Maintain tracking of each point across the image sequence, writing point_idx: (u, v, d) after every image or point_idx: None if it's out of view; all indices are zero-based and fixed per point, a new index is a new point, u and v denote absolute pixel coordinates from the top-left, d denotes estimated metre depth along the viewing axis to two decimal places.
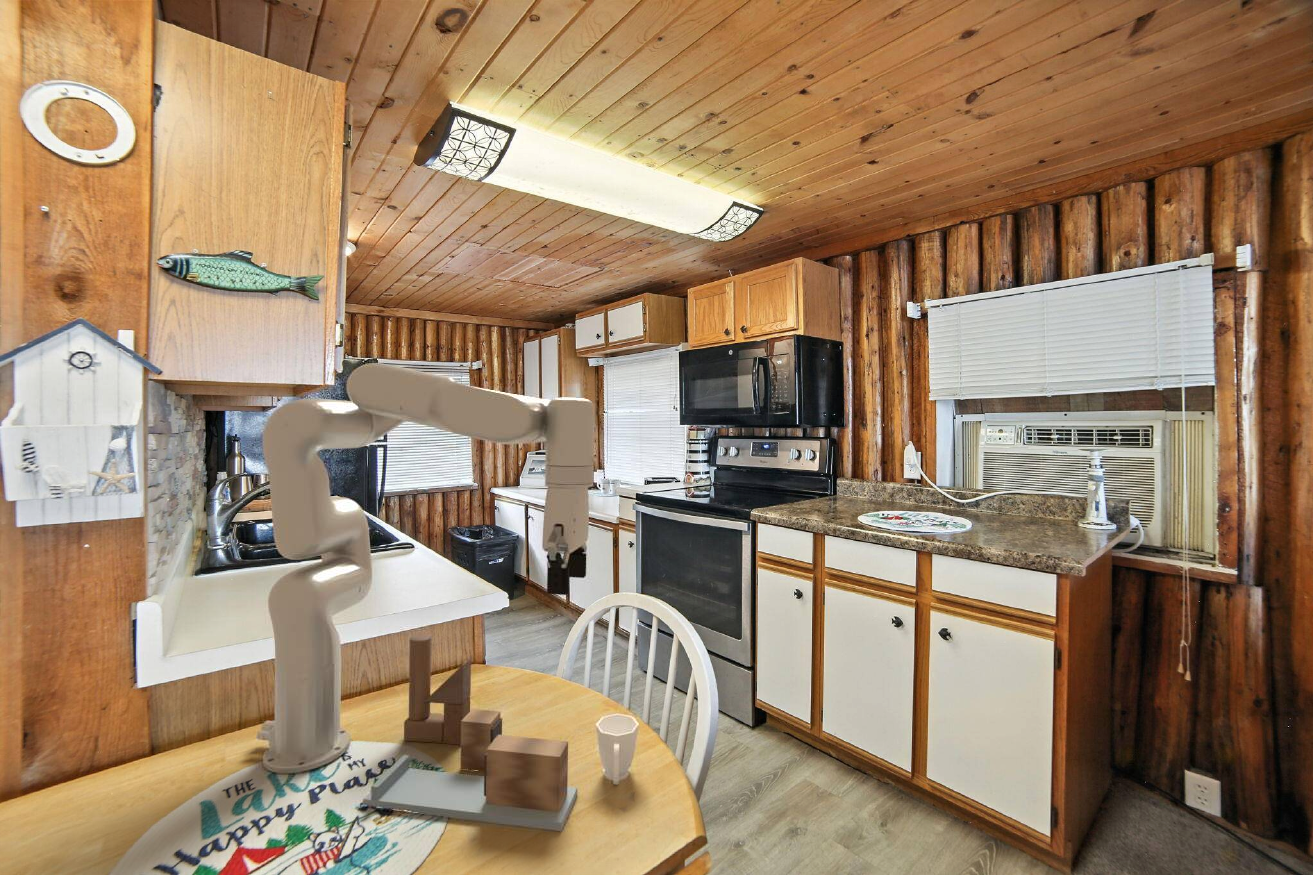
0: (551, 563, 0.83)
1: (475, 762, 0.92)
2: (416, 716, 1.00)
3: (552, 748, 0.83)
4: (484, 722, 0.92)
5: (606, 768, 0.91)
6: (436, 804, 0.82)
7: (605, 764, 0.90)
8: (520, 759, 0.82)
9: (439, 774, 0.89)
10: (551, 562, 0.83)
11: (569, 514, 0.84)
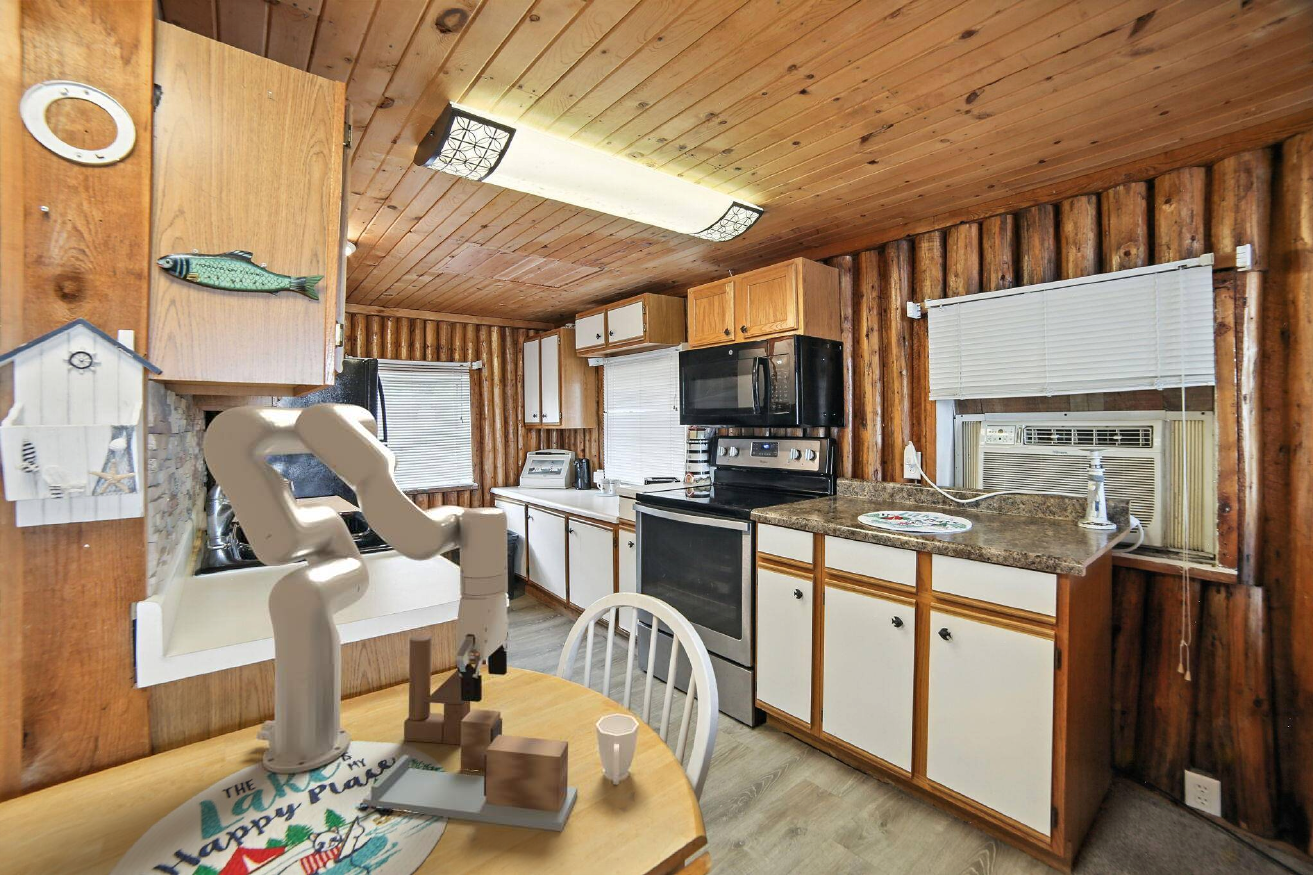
0: (462, 674, 0.87)
1: (475, 762, 0.92)
2: (416, 716, 1.00)
3: (552, 748, 0.83)
4: (484, 722, 0.92)
5: (606, 768, 0.91)
6: (436, 804, 0.82)
7: (605, 764, 0.90)
8: (520, 759, 0.82)
9: (439, 774, 0.89)
10: (462, 673, 0.87)
11: (480, 625, 0.89)
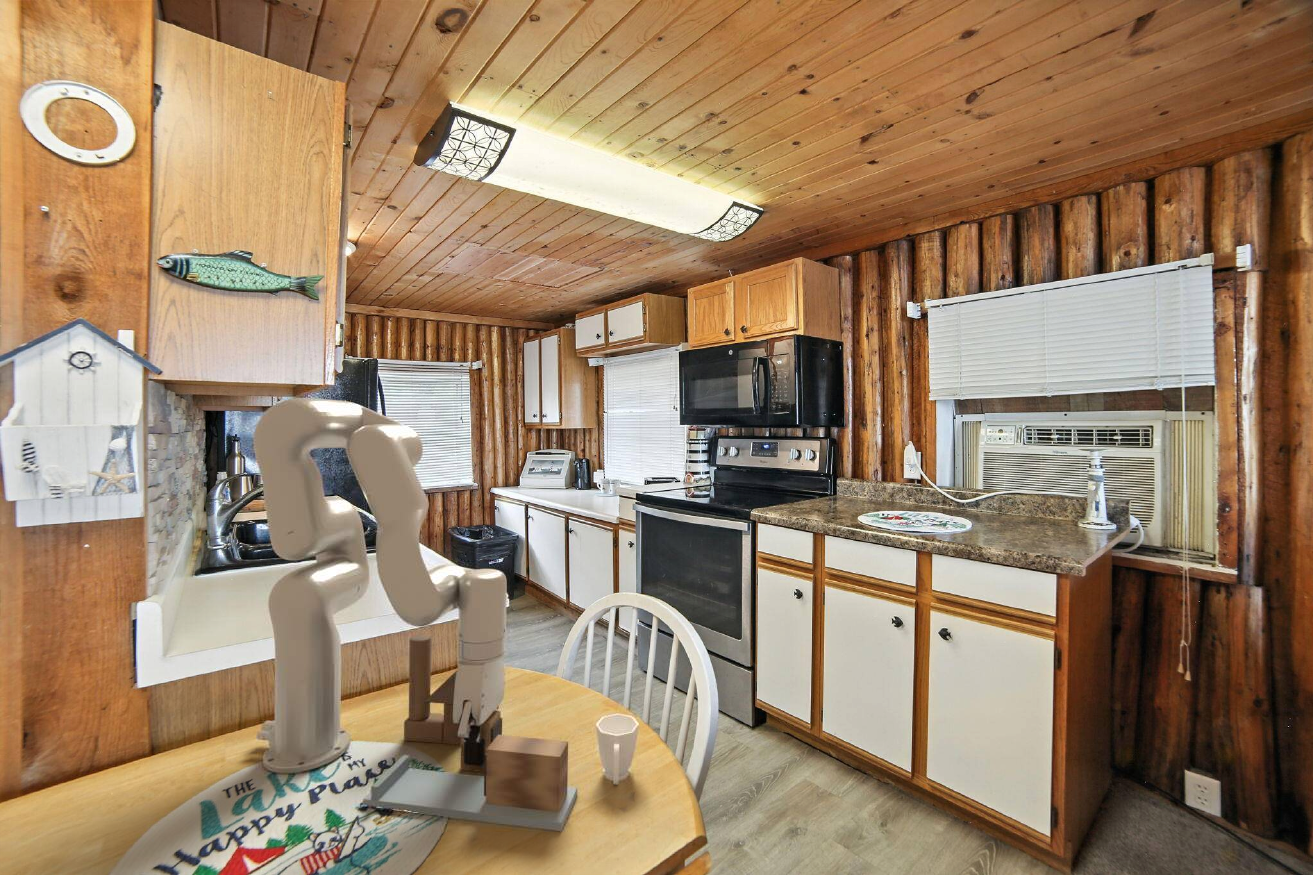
0: (466, 739, 0.90)
1: None
2: (416, 716, 1.00)
3: (552, 748, 0.83)
4: (484, 722, 0.92)
5: (606, 768, 0.91)
6: (436, 804, 0.82)
7: (605, 764, 0.90)
8: (520, 759, 0.82)
9: (439, 774, 0.89)
10: (466, 739, 0.90)
11: (477, 691, 0.89)
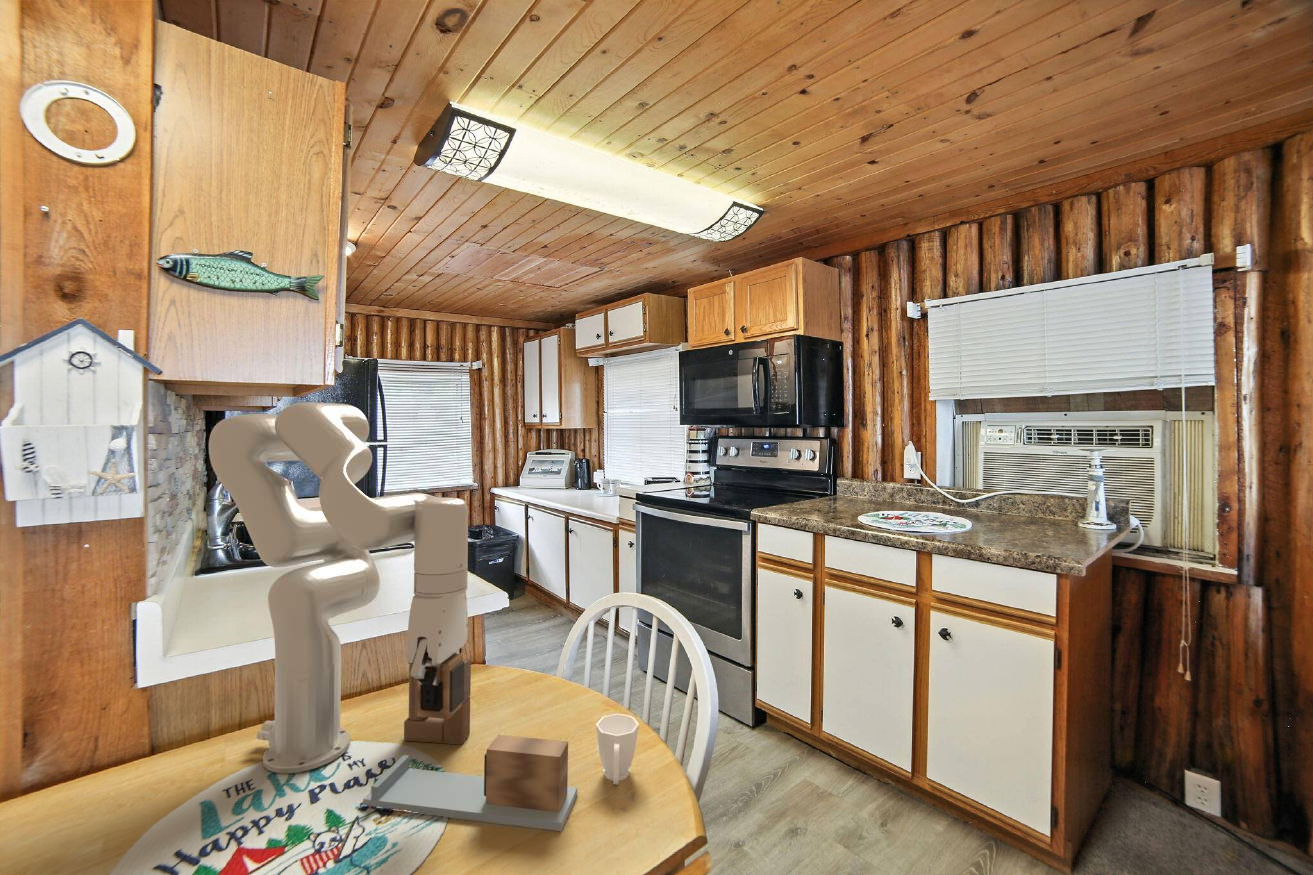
0: (421, 681, 0.81)
1: None
2: (416, 716, 1.00)
3: (552, 748, 0.83)
4: (443, 663, 0.83)
5: (606, 768, 0.91)
6: (436, 804, 0.82)
7: (605, 764, 0.90)
8: (520, 759, 0.82)
9: (439, 774, 0.89)
10: (421, 680, 0.81)
11: (433, 626, 0.80)
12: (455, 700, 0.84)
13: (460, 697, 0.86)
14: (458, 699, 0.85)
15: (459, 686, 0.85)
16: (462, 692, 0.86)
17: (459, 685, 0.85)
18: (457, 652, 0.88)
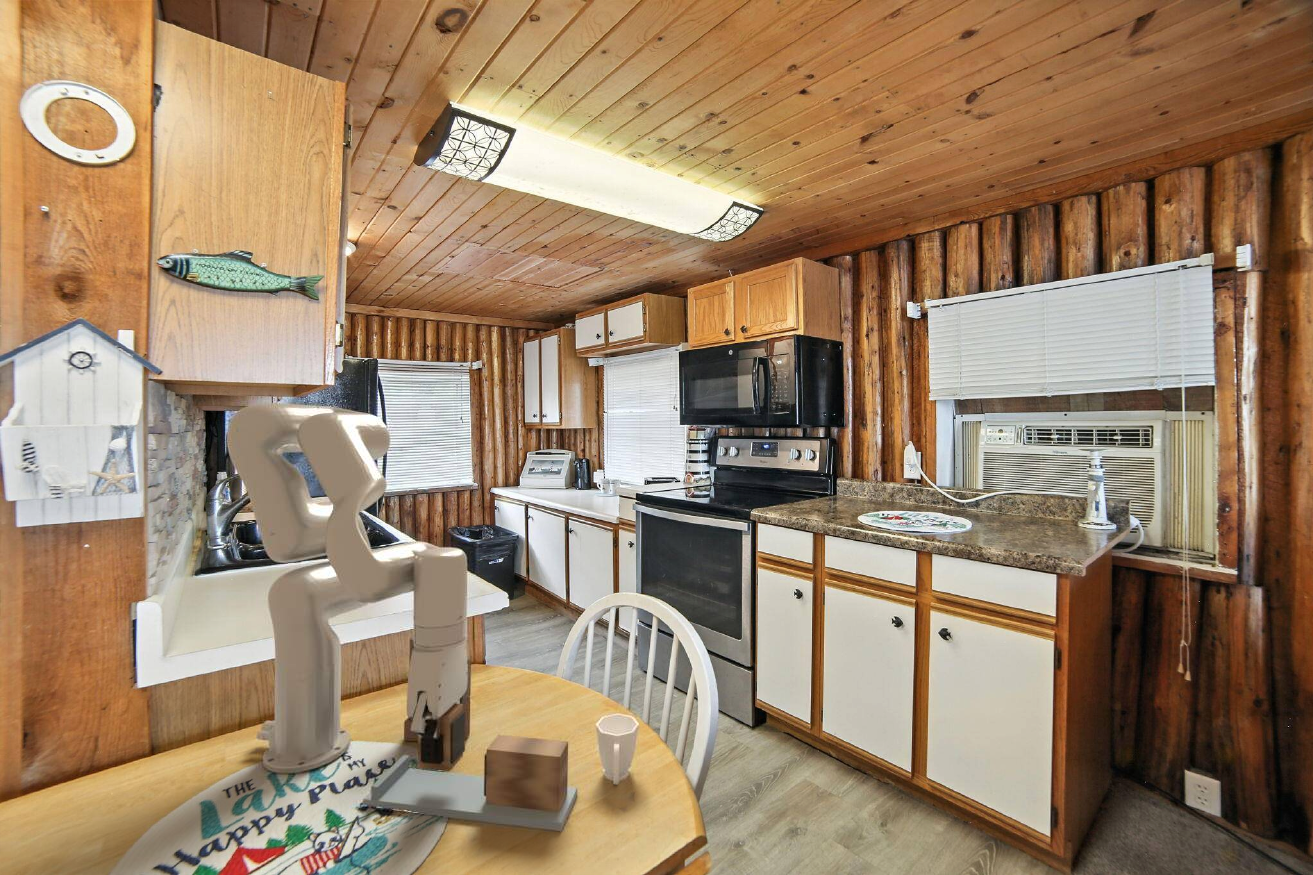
0: (422, 735, 0.81)
1: None
2: None
3: (552, 748, 0.83)
4: (443, 715, 0.83)
5: (606, 768, 0.91)
6: (436, 804, 0.82)
7: (605, 764, 0.90)
8: (520, 759, 0.82)
9: (439, 774, 0.89)
10: (422, 734, 0.81)
11: (433, 680, 0.80)
12: (456, 751, 0.84)
13: (461, 748, 0.86)
14: (459, 750, 0.85)
15: (460, 737, 0.85)
16: (463, 742, 0.86)
17: (460, 736, 0.85)
18: (457, 701, 0.88)
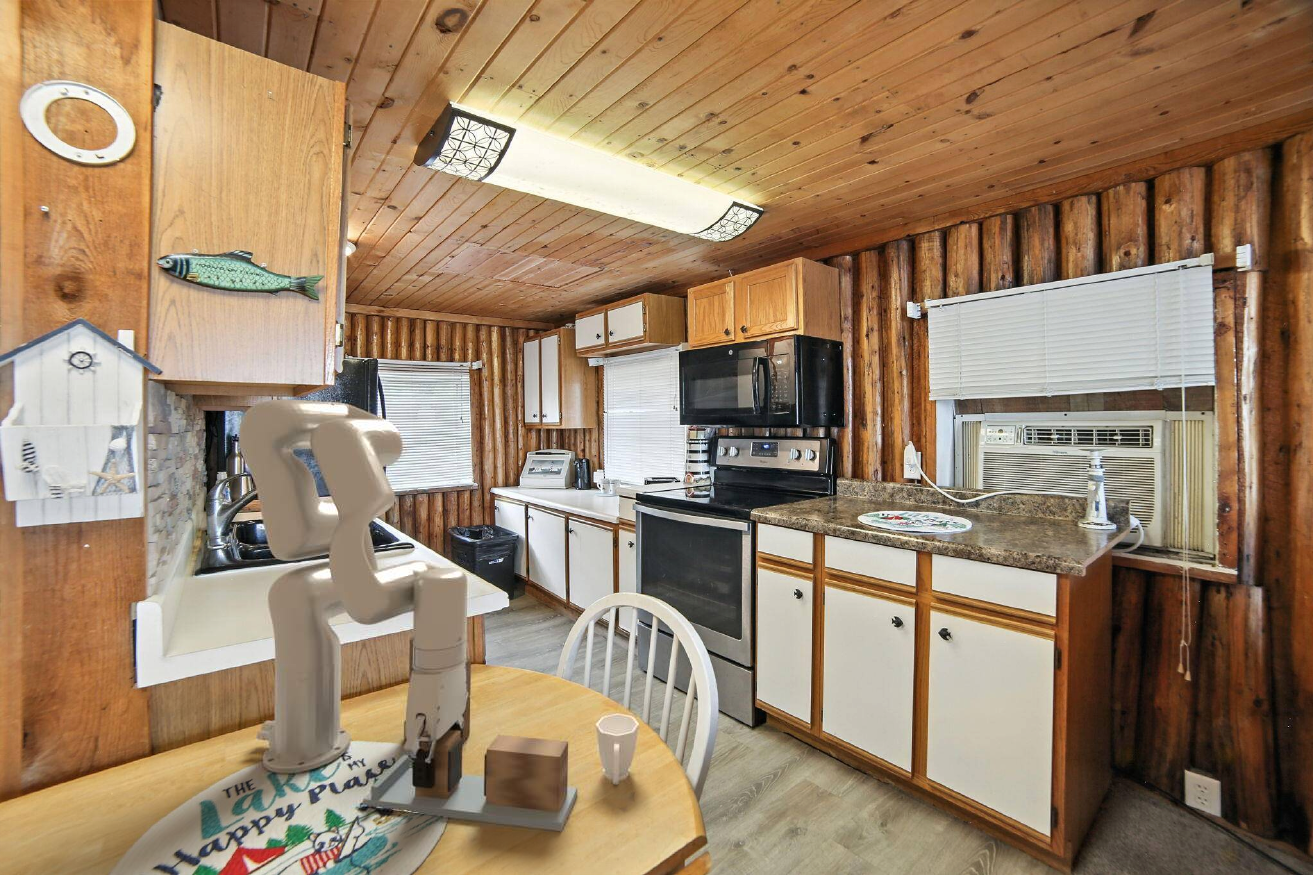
0: (413, 759, 0.80)
1: (431, 788, 0.83)
2: None
3: (552, 748, 0.83)
4: (441, 743, 0.83)
5: (606, 768, 0.91)
6: (436, 804, 0.82)
7: (605, 764, 0.90)
8: (520, 759, 0.82)
9: None
10: (413, 758, 0.79)
11: (432, 703, 0.80)
12: (453, 779, 0.84)
13: (458, 775, 0.86)
14: (456, 777, 0.85)
15: (457, 764, 0.85)
16: (460, 769, 0.86)
17: (457, 763, 0.85)
18: None
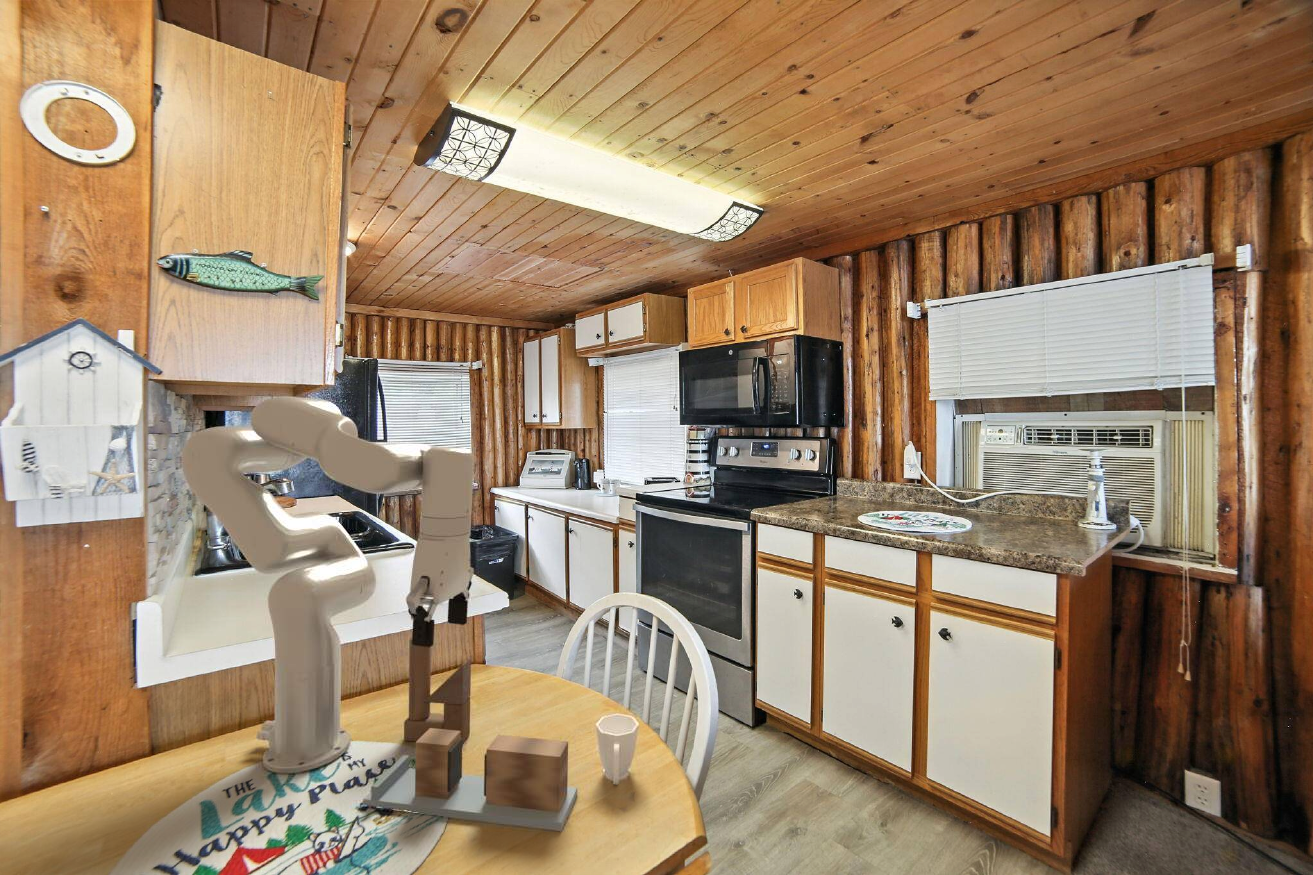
0: (413, 616, 0.83)
1: (431, 788, 0.83)
2: (416, 716, 1.00)
3: (552, 748, 0.83)
4: (441, 743, 0.83)
5: (606, 768, 0.91)
6: (436, 804, 0.82)
7: (605, 764, 0.90)
8: (520, 759, 0.82)
9: None
10: (413, 615, 0.83)
11: (436, 567, 0.84)
12: (453, 779, 0.84)
13: (458, 775, 0.86)
14: (456, 777, 0.85)
15: (457, 764, 0.85)
16: (460, 769, 0.86)
17: (457, 763, 0.85)
18: None
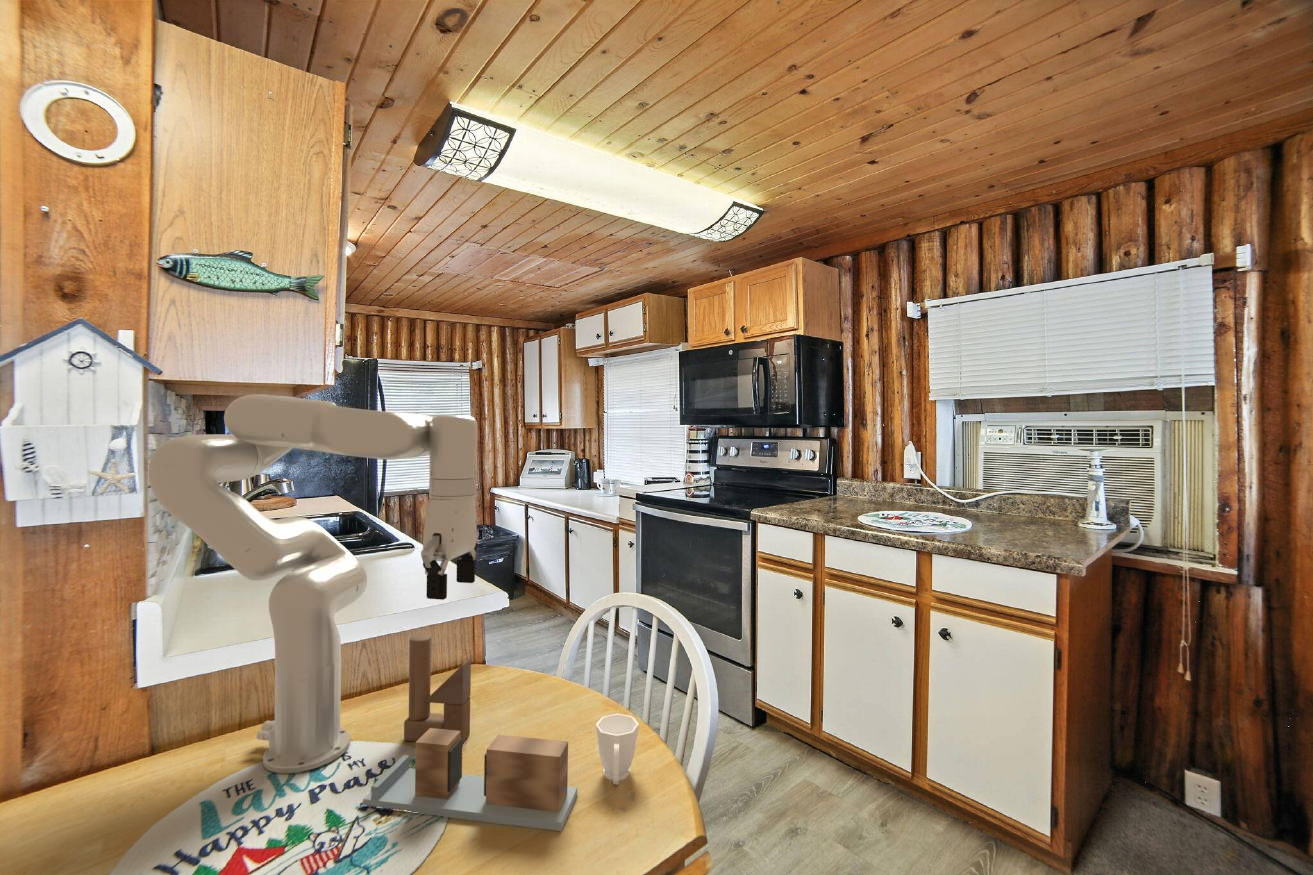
0: (428, 570, 0.89)
1: (431, 788, 0.83)
2: (416, 716, 1.00)
3: (552, 748, 0.83)
4: (441, 743, 0.83)
5: (606, 768, 0.91)
6: (436, 804, 0.82)
7: (605, 764, 0.90)
8: (520, 759, 0.82)
9: None
10: (427, 569, 0.89)
11: (447, 524, 0.90)
12: (453, 779, 0.84)
13: (458, 775, 0.86)
14: (456, 777, 0.85)
15: (457, 764, 0.85)
16: (460, 769, 0.86)
17: (457, 763, 0.85)
18: None
